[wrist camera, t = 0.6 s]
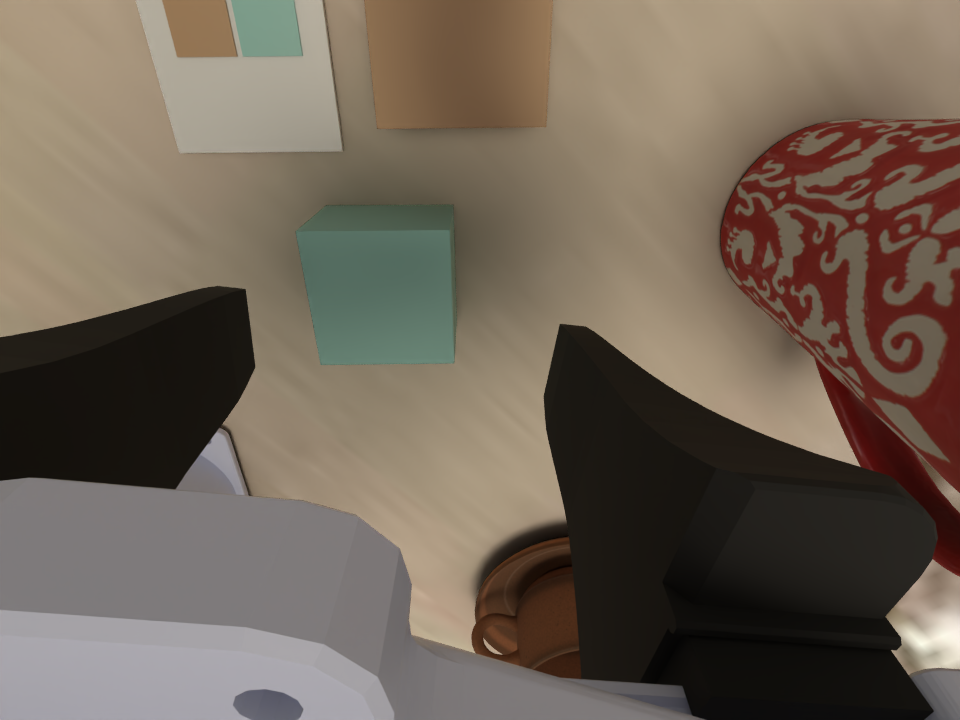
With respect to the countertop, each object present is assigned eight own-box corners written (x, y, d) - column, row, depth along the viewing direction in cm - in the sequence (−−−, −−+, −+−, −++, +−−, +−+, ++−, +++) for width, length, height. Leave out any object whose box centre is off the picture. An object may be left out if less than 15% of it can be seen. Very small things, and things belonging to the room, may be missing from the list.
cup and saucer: (497, 651, 35) (502, 756, 29) (453, 536, 29) (449, 640, 23) (670, 625, 33) (708, 729, 28) (660, 499, 28) (706, 599, 22)
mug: (707, 104, 18) (1168, 145, 6) (967, 73, 17) (2004, 50, 6) (676, 395, 24) (874, 696, 12) (868, 376, 24) (1262, 669, 12)
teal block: (344, 319, 22) (320, 364, 18) (326, 204, 19) (295, 231, 16) (456, 318, 22) (454, 363, 18) (453, 203, 19) (449, 230, 16)
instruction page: (182, 152, 18) (178, 153, 18) (98, -144, 14) (91, -148, 14) (343, 150, 18) (341, 151, 18) (304, -145, 14) (301, -149, 14)
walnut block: (395, 119, 18) (377, 128, 15) (380, -56, 16) (354, -96, 12) (531, 118, 18) (546, 127, 15) (538, -57, 16) (557, -97, 12)
